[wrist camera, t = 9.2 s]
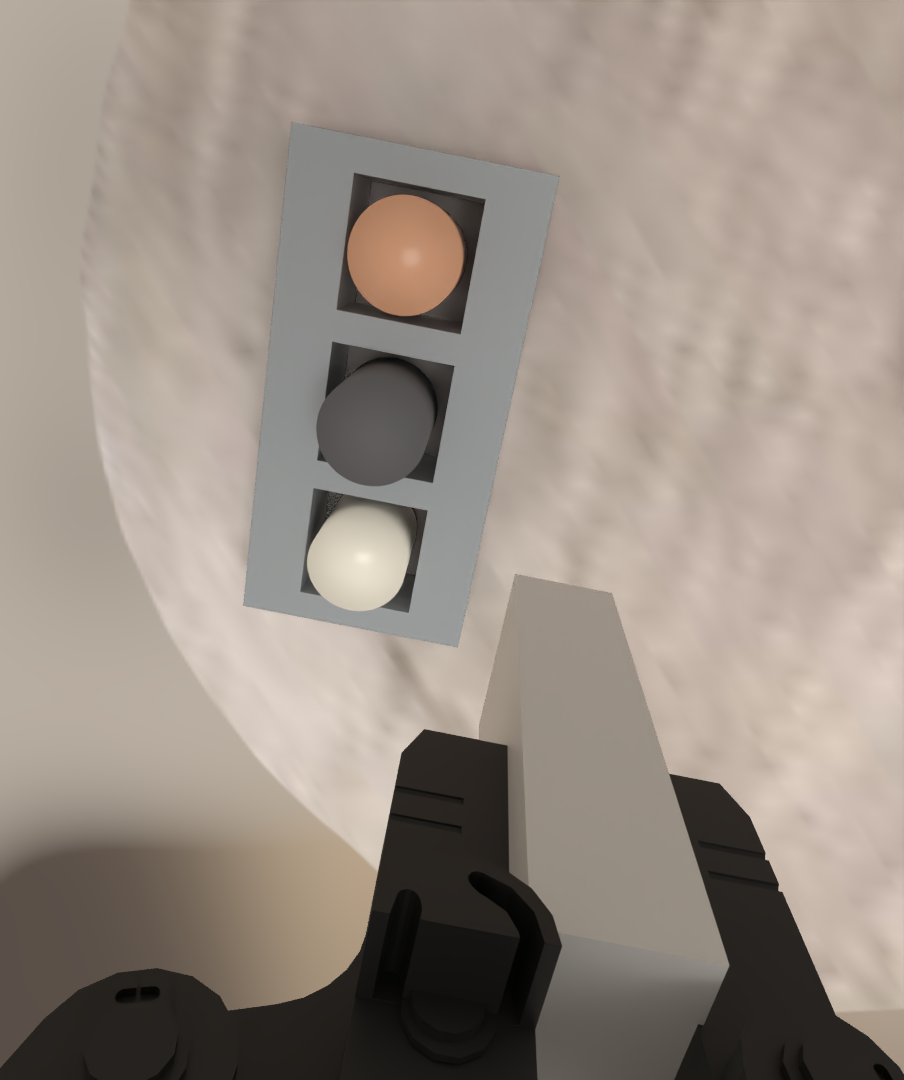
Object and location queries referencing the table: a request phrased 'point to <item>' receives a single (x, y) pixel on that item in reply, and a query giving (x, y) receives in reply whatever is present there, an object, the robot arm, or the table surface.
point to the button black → (377, 422)
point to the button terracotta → (406, 255)
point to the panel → (338, 321)
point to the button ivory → (362, 552)
